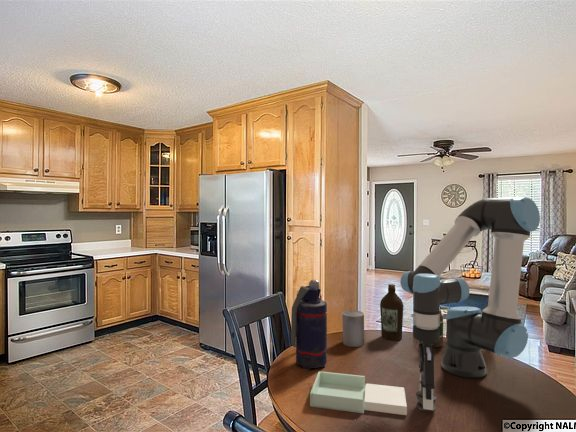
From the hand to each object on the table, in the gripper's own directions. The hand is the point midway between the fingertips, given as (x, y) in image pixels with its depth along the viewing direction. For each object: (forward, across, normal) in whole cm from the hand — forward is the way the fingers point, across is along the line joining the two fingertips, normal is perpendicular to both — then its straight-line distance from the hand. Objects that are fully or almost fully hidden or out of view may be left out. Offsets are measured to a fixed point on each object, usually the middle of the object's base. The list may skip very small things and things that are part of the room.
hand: (426, 401), depth 109 cm
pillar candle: (+2, -50, -25) cm, 56 cm away
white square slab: (+2, 0, -12) cm, 12 cm away
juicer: (+2, -40, -41) cm, 57 cm away
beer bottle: (+2, -57, +10) cm, 58 cm away
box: (+2, 0, -26) cm, 26 cm away
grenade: (+2, -22, -40) cm, 46 cm away
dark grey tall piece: (+2, 0, 0) cm, 2 cm away
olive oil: (+2, -62, -8) cm, 63 cm away
